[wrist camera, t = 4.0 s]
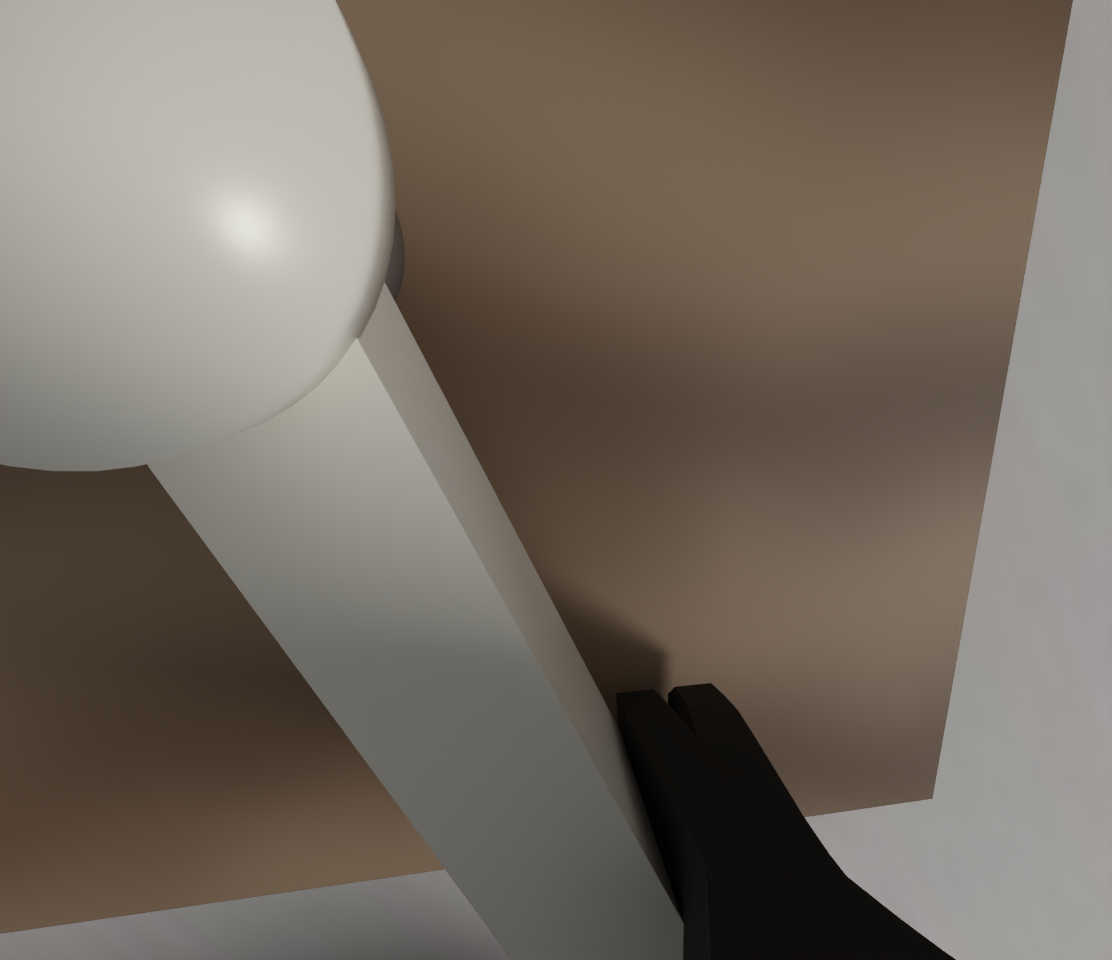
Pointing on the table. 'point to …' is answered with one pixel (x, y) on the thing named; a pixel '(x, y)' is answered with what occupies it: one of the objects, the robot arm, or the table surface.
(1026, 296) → the table surface
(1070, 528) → the table surface
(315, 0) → the lever
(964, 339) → the wood grain tray mat
